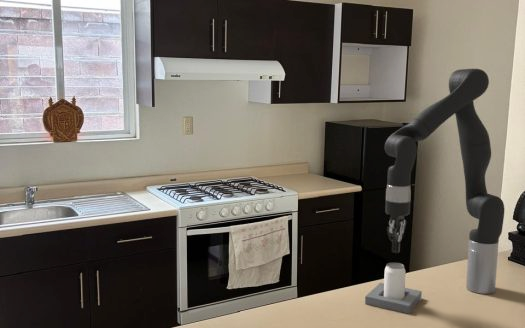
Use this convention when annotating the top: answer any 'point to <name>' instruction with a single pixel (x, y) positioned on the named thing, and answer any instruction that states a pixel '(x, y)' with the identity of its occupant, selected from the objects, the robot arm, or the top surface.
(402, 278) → the can
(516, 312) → the top surface
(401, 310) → the socket plate
